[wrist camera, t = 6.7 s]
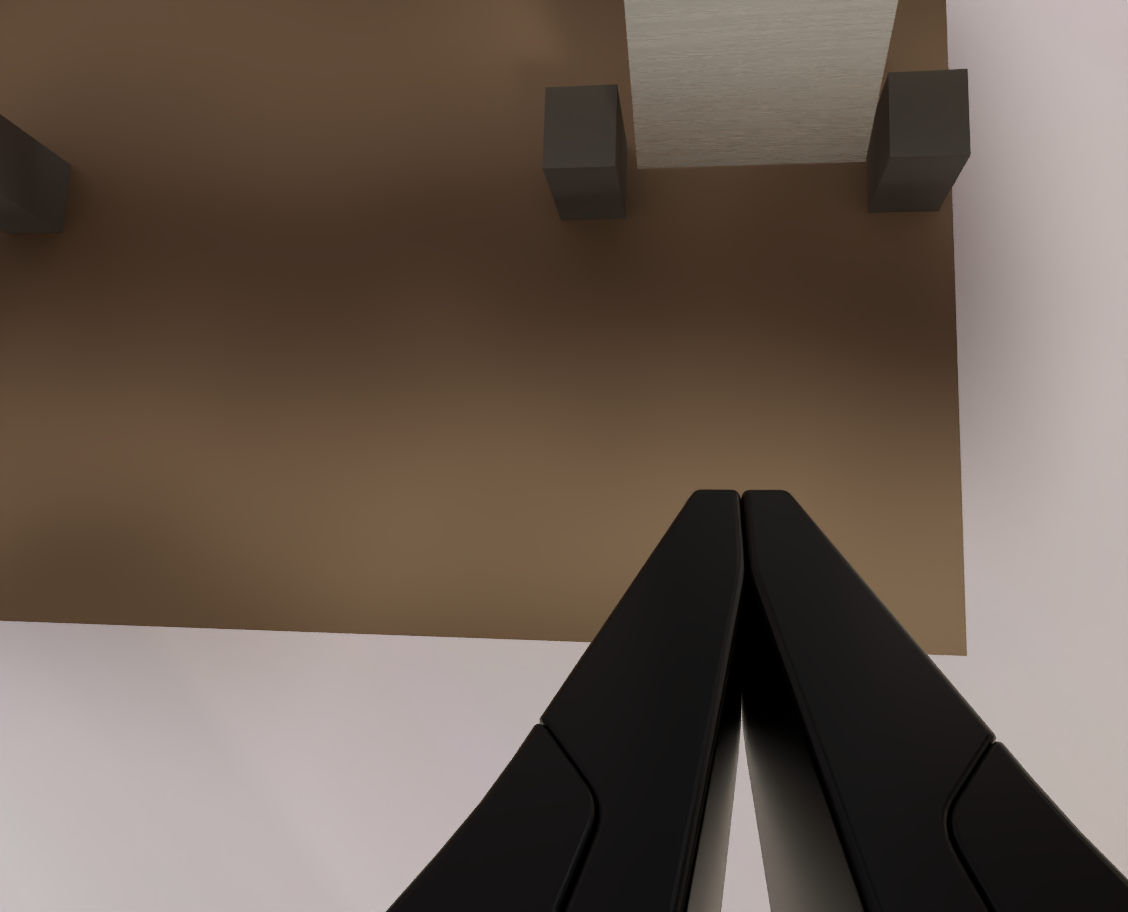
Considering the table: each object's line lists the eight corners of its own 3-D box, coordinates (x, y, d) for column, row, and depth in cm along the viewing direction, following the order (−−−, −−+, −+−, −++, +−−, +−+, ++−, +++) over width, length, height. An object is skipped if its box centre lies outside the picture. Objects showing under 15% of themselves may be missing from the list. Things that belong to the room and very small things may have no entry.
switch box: (933, 651, 15) (1005, 660, 12) (-197, 610, 18) (-426, 608, 15) (916, 6, 17) (974, -163, 14) (-113, 60, 20) (-298, -67, 16)
